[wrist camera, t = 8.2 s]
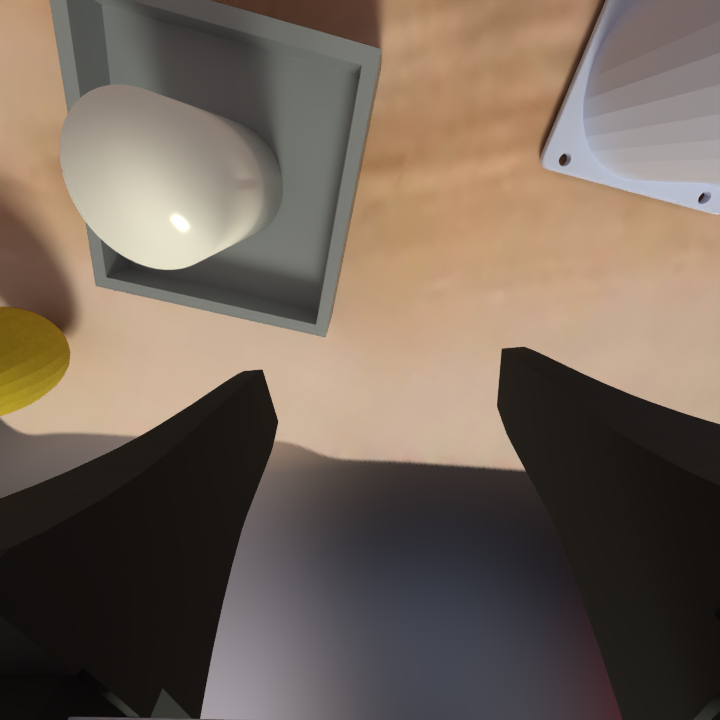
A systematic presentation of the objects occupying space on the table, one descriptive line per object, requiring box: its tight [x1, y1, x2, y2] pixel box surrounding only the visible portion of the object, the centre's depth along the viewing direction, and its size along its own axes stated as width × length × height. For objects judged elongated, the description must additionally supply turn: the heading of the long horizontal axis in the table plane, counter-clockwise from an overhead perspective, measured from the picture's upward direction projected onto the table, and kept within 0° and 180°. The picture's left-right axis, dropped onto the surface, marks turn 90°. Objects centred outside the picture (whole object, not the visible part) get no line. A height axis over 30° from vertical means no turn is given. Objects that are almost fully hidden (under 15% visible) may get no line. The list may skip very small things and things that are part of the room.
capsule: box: [60, 84, 283, 270], centre depth 13 cm, size 5×5×7 cm
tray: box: [50, 0, 382, 337], centre depth 16 cm, size 12×12×2 cm
